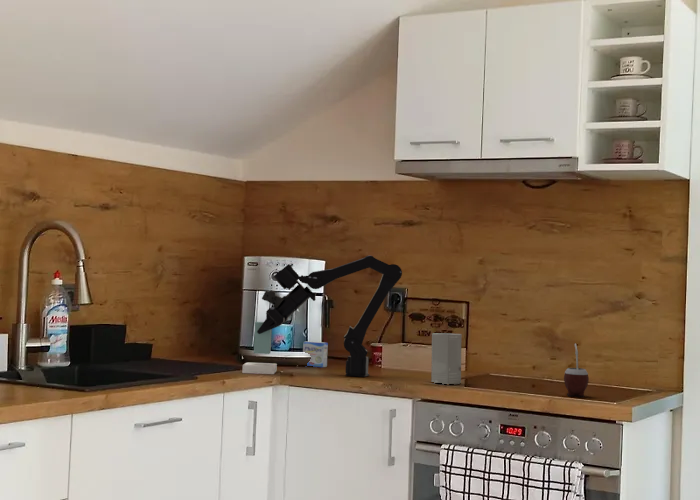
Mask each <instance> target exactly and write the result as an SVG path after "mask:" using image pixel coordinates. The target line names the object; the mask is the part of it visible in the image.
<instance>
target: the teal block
mask: <svg viewBox="0 0 700 500" xmlns="http://www.w3.org/2000/svg"><path fill="white" fill-rule="evenodd" d="M263 323H264V321H255V322H254V334H253V335H254V339H253V342H254V343H253V354H257V355H258V354H262V355H263V354H264V355H270V354H271V350H272V348H271V347H272V330H273V329H271V330H268V331H266V332H263V333H261V334H258V333H257V331H258V329H259V328H260V327H261V325H262V324H263Z"/></svg>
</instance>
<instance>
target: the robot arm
mask: <svg viewBox="0 0 700 500" xmlns="http://www.w3.org/2000/svg"><path fill="white" fill-rule="evenodd" d="M365 269H372V270H373V271H376V272H377V273H380V274H381V275H382V276H381V279H380V281H379V285H378V287H377V289H376V291H375V292H374V294H373V295H372V297H371V299H370V301H369V303H368V305H367V306H366V308H365V310H364V312H363V313H362V315H361V316H360V318H359V320H358V322H357V323H356V325H355V326H354V327H352V326H351V325H349V328H348V329H347V332H346V333H345V335H344V336H343V339H344V340H343V346H344V349H345V350H346V351H347V352H349V355H348V356H347V360H346V361H345V377H346V376H349V377H360V378H361V377H362V378H363V377H365V378H366V377H368V376H370V373H369V356H367V355H368V350H367V348H366V347H365V346H364V345H363V343H364V339H365V337H366V334H367V331H368V329H369V326H370V325H371V323H372V321H373V320H374V318H375V316H376V315H377V312H378V311H379V309H380V308H381V305H383V302H384V300H385V299H386V297H387V295H388V293H389V292H390V291H391V290H392V289H393V288H394V286H395V285H396V284H397V283H398V282H399V281H400V279H401V278H402V275H403V270H402V268H401V266H399V265H397V264H396V263H395V264H394V263H391V264H388V263H386V262H385V261H381V260H380V259H378V258H376V257H374V256H373V255H366V256H365V257H363V258H359V259H357V260H353V261H350V262H348V263H345V264H342V265H339V266H337V267H333V268H330V269H329V268H328V269H324V270H323V269H322V270H317V271H312V272H310V273H309V274H308V275H303V274H301V275H299V274H298V273H297V272H296V271H295V270H294V268H293V266H292V265H291V264H290V263H288V264H287V265H286V266H284V267H283V268H282V269H280V270H278V272H277V273H276V274H274V275H273V277H272V278H273V279H274V280H275V282H277V283H278V284H279V285H280V287H282V288H283V290H284V291H285V290H286V289H288V290H289V293H288V294H286V295H284V296H282V297H281V296H280V295H278V294H276V291H273V290H271V289H270V290H268V289H266V290H265V291H264V293H263V294H262V297H261V299H262V301H266V302H268V303H270V304H272V307H269V308H268V309H267V310H266V311H265V315H266V317H265V320H264V321H263V322H264V323H263V324H262V325H261V327H260V328H259V329H258V331H257V333H258V334H261V333H263V332H266V331H268V330H271V329H272V330H273V329H275V328H278V327H280V326H282V325H283V324H285V323H286V322H287V321H288V320H289V318H290V317H291V316H292V315H293V314H294V313H295V312H296V311H297V310H299V308H300V307H301V306H302V305H304V304H305V303H306V302H307V301H308V300H309V299H311V300H312V301H313V302H315V301H317V300H316V298H317V297H316V296H317V292H313V291H312V290H311V289H314V290H319V289H321V288H322V287H325V286H326V285H328V284H330V283H332V282H333V281H335V280H337V279H340V278H342V277H346V276H349V275H351V274H354V273H357V272H360V271H363V270H365ZM301 283H302V284H306V285H307V286H306V287H305V286H303V285H302V284H301ZM296 284H297V285H296ZM293 287H294V288H293ZM291 289H292V290H291ZM290 290H291V291H290Z"/></svg>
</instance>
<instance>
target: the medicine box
mask: <svg viewBox="0 0 700 500" xmlns="http://www.w3.org/2000/svg"><path fill="white" fill-rule="evenodd" d="M328 345H329V343H328V342H325V341H324V342H323V341H322V342H320V341H309V340H308V341H307V340H306V341H303V347H302V353H303V352H305V353H308V354H310V356H311V359H310V361H309V362H308V363H307V366H313V367H312V368H326V367H327V366H328V347H329V346H328ZM307 366H306V367H307Z"/></svg>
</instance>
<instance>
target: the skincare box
mask: <svg viewBox="0 0 700 500" xmlns="http://www.w3.org/2000/svg"><path fill="white" fill-rule="evenodd" d="M462 335H463V334H462V333H443V332H442V333H440V332H439V333H437V332H435V333H434V332H433V333H432V334H431V382H434V383H433V384H435V383H442V384H441V385H444V384H454V385H458V384H459V385H460V383H461V384H462Z"/></svg>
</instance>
